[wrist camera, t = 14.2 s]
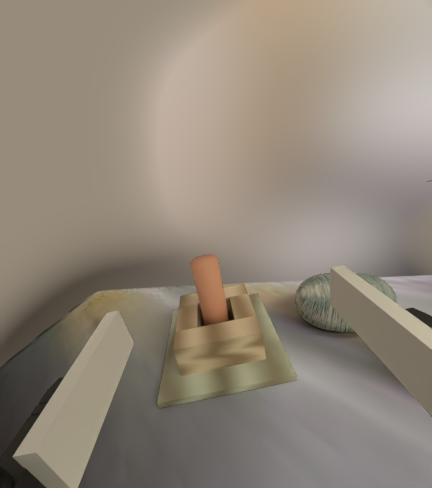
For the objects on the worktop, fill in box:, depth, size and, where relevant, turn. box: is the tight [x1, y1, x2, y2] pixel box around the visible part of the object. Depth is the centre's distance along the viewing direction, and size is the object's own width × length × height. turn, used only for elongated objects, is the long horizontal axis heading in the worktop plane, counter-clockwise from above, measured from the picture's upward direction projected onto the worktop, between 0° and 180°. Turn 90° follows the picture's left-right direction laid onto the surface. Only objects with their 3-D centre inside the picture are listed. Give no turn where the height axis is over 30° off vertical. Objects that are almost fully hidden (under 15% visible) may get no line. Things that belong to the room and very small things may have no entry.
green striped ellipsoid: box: [296, 273, 396, 332], centre depth 33 cm, size 14×10×10 cm
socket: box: [157, 284, 297, 408], centre depth 34 cm, size 18×18×6 cm
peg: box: [190, 255, 229, 326], centre depth 32 cm, size 4×4×14 cm
